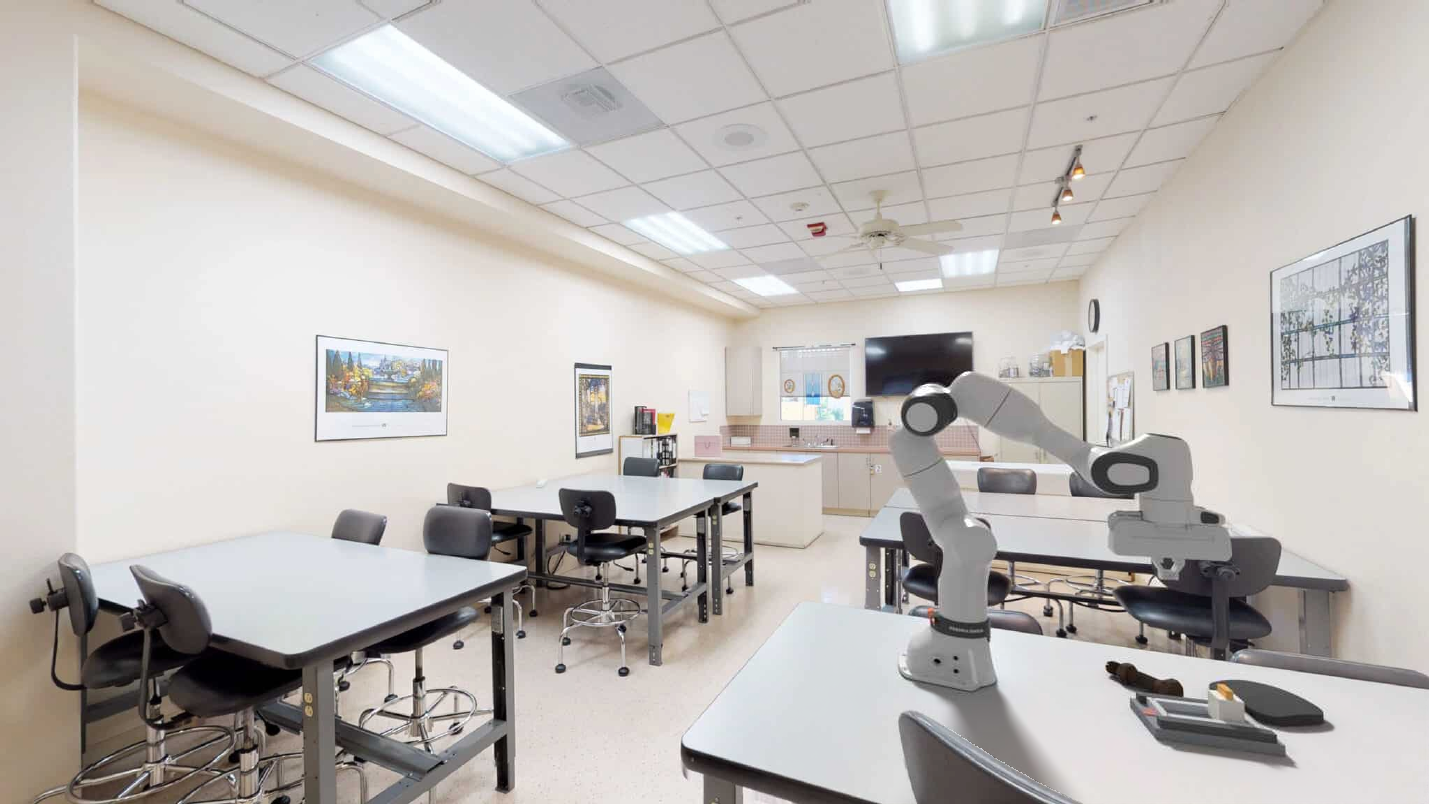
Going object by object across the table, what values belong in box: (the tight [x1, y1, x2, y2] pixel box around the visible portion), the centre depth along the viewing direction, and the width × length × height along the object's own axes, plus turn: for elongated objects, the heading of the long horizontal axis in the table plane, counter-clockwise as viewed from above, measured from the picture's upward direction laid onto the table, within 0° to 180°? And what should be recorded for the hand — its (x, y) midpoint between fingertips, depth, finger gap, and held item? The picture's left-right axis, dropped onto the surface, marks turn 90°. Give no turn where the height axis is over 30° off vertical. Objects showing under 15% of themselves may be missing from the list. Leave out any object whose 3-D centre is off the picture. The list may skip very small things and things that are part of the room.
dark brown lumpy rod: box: [1104, 660, 1185, 697], centre depth 127 cm, size 6×5×15 cm
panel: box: [1129, 691, 1287, 757], centre depth 110 cm, size 20×12×4 cm, turn 72°
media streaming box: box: [1208, 679, 1325, 728], centre depth 118 cm, size 15×15×3 cm
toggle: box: [1207, 684, 1245, 723], centre depth 109 cm, size 4×4×7 cm
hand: (1168, 579), depth 114 cm, fingers closed
